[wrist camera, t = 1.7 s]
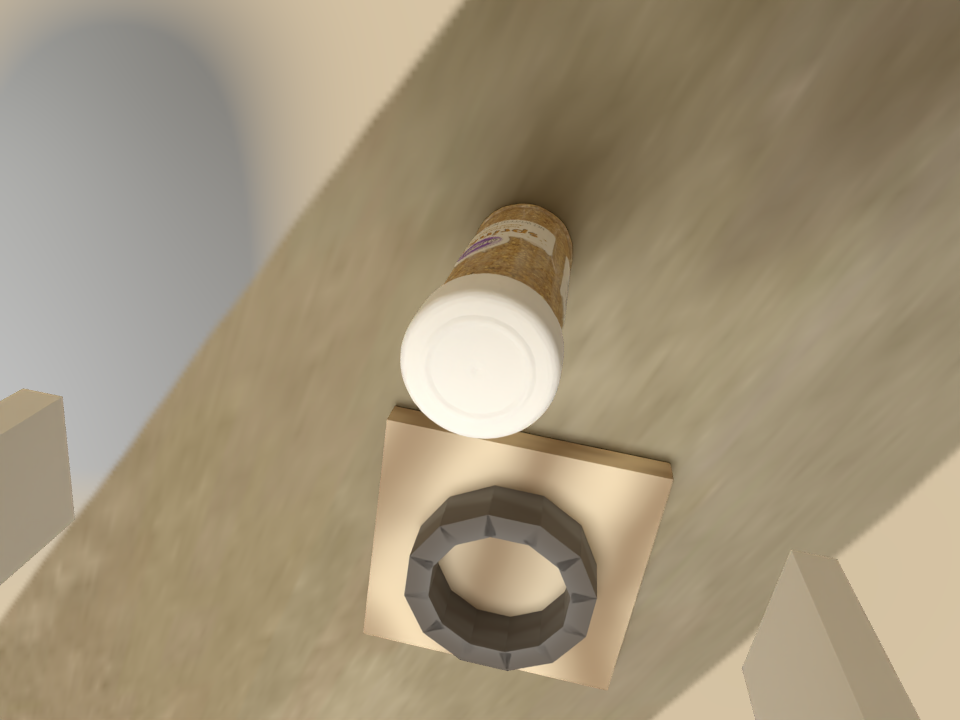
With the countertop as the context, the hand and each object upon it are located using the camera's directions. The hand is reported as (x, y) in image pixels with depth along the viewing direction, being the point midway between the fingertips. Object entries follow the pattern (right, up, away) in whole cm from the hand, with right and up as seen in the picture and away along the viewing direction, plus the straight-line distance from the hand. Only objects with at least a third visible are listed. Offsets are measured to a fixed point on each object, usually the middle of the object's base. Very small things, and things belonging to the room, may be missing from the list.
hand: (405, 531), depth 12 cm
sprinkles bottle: (+3, +8, +19) cm, 21 cm away
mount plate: (+3, -7, +25) cm, 26 cm away
